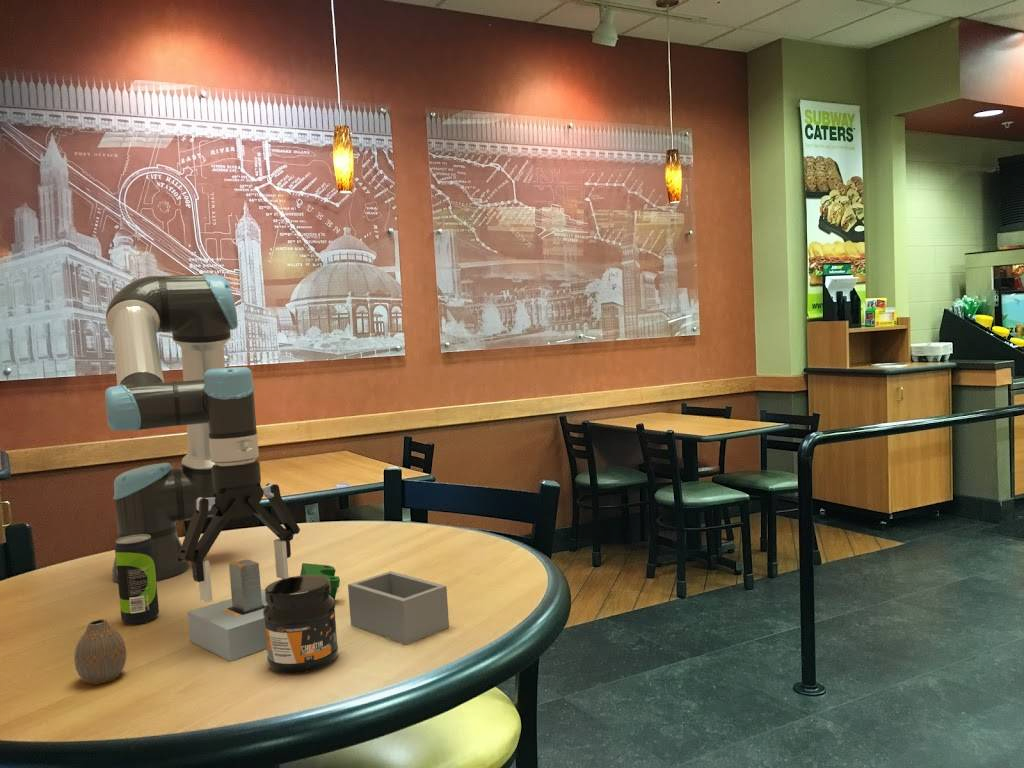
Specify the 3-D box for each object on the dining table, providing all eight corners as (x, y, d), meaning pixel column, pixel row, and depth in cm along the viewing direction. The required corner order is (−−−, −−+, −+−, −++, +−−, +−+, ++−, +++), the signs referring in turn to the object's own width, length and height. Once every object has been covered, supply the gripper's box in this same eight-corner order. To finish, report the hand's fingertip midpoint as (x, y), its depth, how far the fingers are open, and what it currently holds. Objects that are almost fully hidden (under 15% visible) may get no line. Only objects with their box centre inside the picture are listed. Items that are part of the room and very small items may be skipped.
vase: (88, 671, 125) (83, 615, 124) (135, 667, 125) (130, 611, 125) (68, 691, 118) (62, 632, 117) (117, 686, 118) (111, 628, 118)
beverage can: (167, 614, 149) (159, 534, 148) (141, 627, 143) (133, 543, 142) (140, 612, 151) (132, 533, 150) (113, 624, 145) (106, 542, 144)
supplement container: (272, 682, 117) (265, 600, 116) (263, 657, 126) (257, 581, 126) (345, 666, 121) (339, 587, 120) (331, 643, 130) (326, 569, 130)
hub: (190, 641, 135) (187, 611, 135) (266, 616, 145) (264, 588, 145) (230, 661, 125) (227, 629, 125) (309, 633, 135) (307, 603, 135)
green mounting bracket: (331, 626, 151) (341, 587, 147) (298, 624, 149) (308, 584, 145) (328, 585, 161) (338, 547, 158) (297, 582, 159) (306, 544, 156)
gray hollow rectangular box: (350, 624, 138) (347, 584, 138) (393, 609, 145) (390, 571, 144) (406, 644, 128) (403, 601, 127) (449, 627, 134) (446, 586, 134)
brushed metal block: (234, 634, 135) (228, 562, 135) (252, 628, 138) (246, 558, 137) (246, 639, 133) (240, 566, 132) (264, 633, 135) (258, 561, 134)
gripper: (169, 476, 122) (181, 615, 123) (314, 451, 139) (323, 573, 141) (148, 472, 127) (160, 605, 128) (290, 449, 145) (300, 566, 146)
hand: (245, 588), depth 135 cm, fingers open, 13 cm apart
